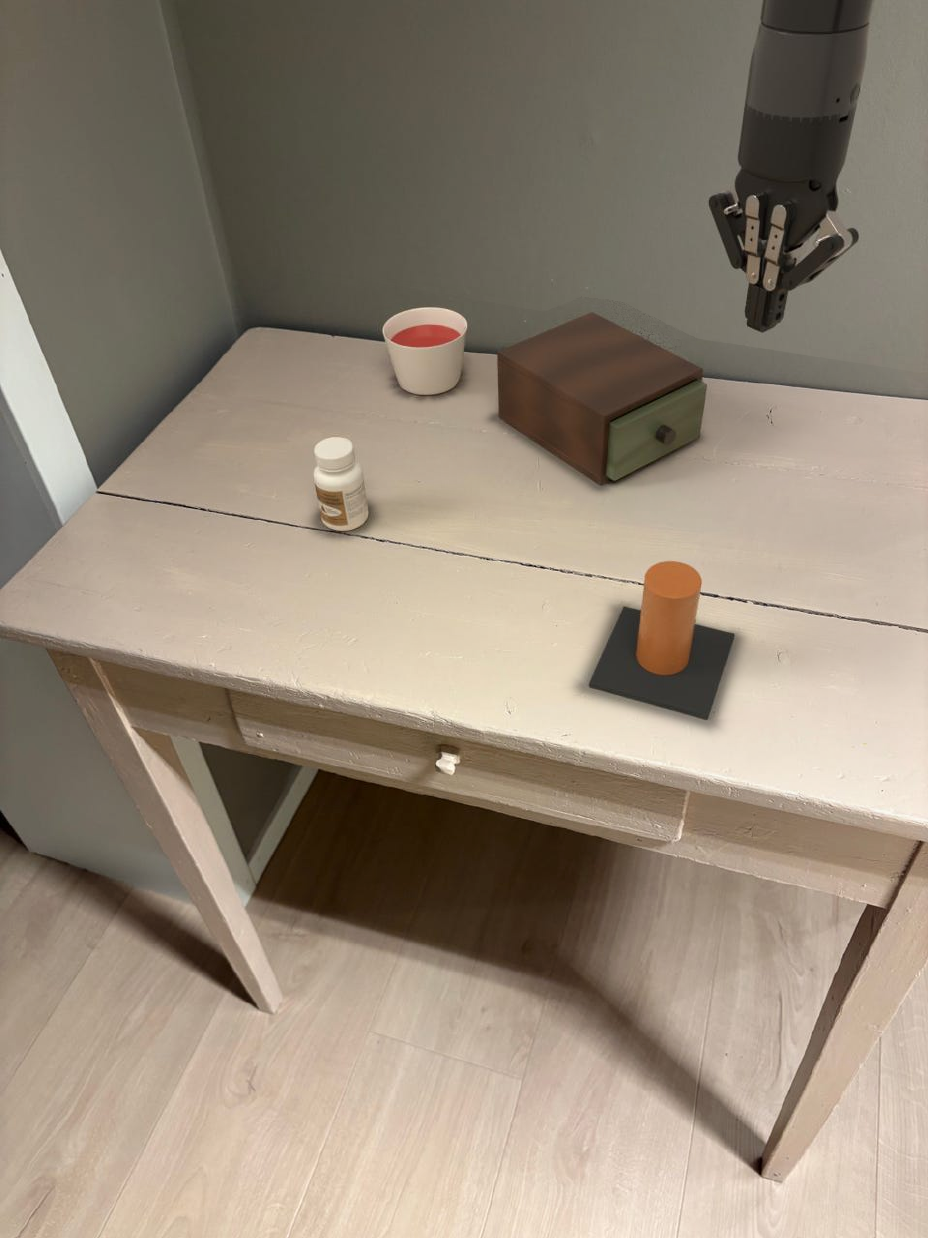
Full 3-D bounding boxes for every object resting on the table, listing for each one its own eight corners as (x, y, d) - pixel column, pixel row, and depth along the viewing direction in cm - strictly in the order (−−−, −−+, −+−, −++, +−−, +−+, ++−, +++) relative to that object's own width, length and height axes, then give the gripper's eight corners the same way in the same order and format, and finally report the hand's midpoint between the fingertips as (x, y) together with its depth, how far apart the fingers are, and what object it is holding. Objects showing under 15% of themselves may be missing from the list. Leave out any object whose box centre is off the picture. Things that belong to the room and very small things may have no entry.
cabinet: (694, 436, 96) (703, 368, 90) (600, 485, 91) (604, 416, 85) (589, 376, 105) (592, 311, 100) (498, 417, 100) (496, 351, 95)
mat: (734, 637, 75) (734, 633, 75) (707, 720, 70) (708, 715, 69) (623, 610, 78) (623, 605, 78) (589, 687, 72) (589, 682, 72)
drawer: (709, 441, 93) (717, 389, 89) (623, 487, 89) (627, 433, 85) (599, 379, 103) (602, 329, 99) (516, 417, 98) (516, 366, 94)
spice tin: (694, 645, 74) (707, 567, 69) (681, 681, 72) (694, 603, 66) (644, 632, 76) (653, 555, 70) (629, 667, 73) (637, 590, 68)
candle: (373, 392, 105) (367, 339, 100) (412, 353, 110) (407, 301, 106) (447, 408, 102) (444, 354, 97) (483, 367, 107) (481, 314, 103)
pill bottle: (312, 519, 89) (298, 449, 84) (347, 497, 91) (335, 427, 86) (343, 538, 87) (331, 468, 81) (378, 515, 89) (369, 445, 84)
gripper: (693, 88, 69) (670, 313, 81) (845, 129, 61) (795, 373, 73) (763, 65, 72) (732, 286, 84) (918, 102, 64) (858, 340, 76)
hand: (761, 326), depth 79 cm, fingers closed
